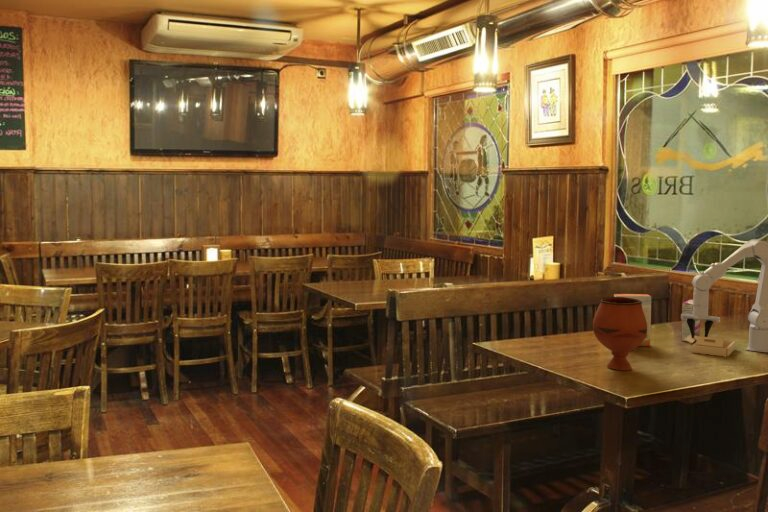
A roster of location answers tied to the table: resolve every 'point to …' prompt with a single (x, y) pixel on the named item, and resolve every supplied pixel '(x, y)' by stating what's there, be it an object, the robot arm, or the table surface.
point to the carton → (715, 349)
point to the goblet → (620, 328)
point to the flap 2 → (709, 341)
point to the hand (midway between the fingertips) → (699, 338)
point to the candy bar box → (685, 331)
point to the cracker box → (646, 309)
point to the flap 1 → (690, 339)
